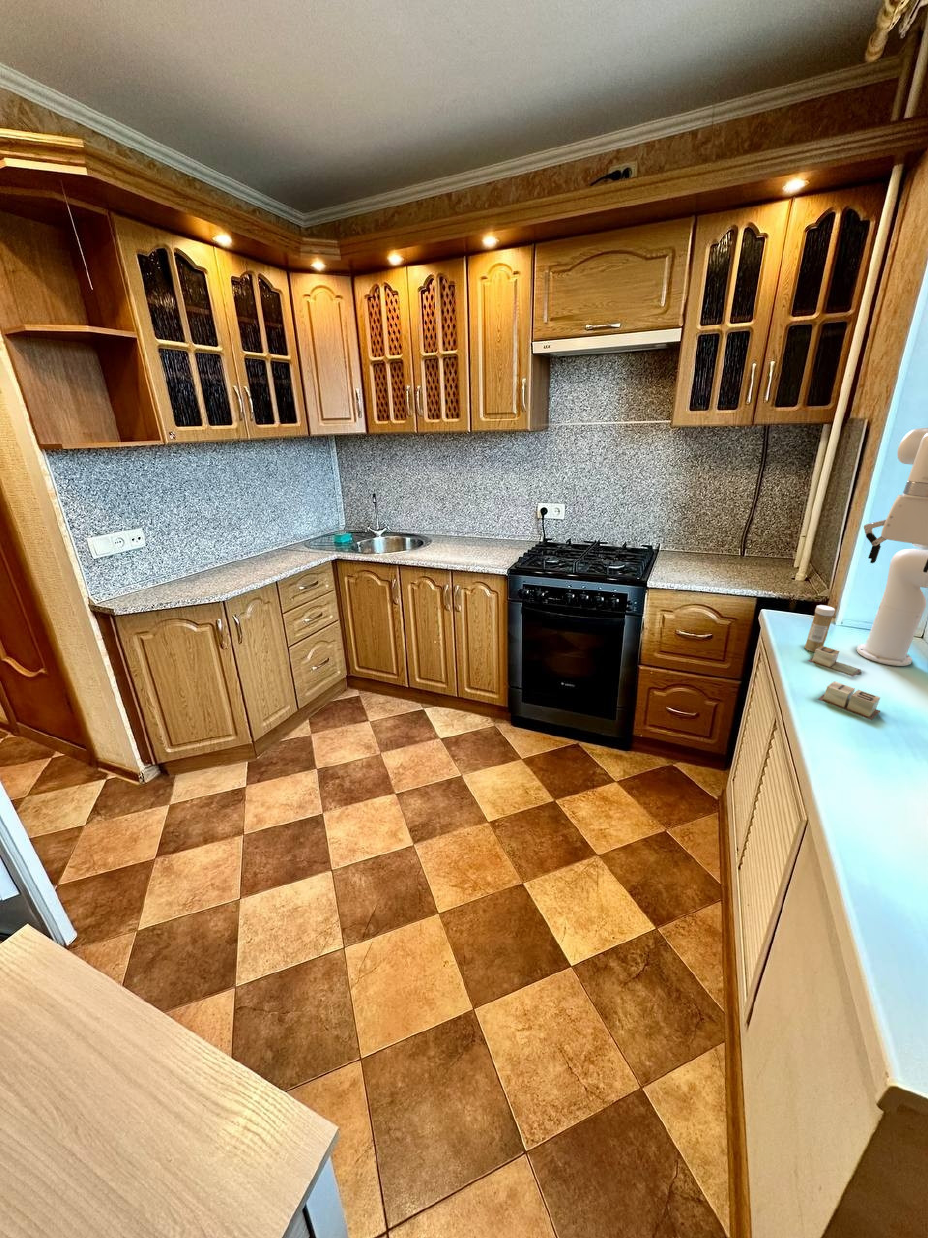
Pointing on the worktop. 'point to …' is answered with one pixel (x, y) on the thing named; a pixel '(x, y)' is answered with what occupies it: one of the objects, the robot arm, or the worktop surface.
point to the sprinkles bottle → (819, 627)
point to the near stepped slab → (841, 697)
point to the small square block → (863, 703)
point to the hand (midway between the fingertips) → (898, 566)
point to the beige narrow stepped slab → (832, 661)
